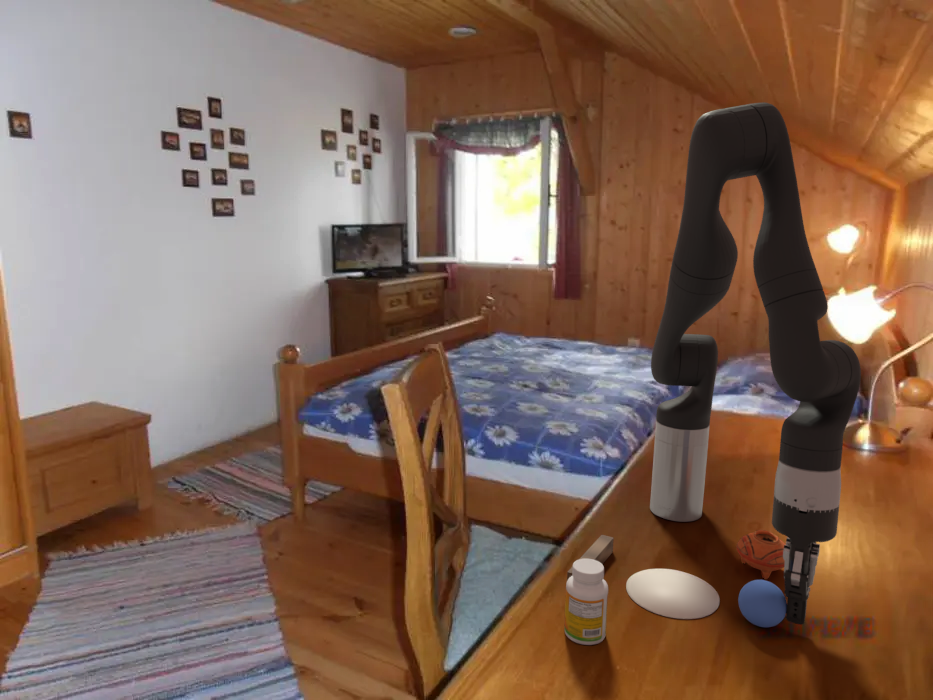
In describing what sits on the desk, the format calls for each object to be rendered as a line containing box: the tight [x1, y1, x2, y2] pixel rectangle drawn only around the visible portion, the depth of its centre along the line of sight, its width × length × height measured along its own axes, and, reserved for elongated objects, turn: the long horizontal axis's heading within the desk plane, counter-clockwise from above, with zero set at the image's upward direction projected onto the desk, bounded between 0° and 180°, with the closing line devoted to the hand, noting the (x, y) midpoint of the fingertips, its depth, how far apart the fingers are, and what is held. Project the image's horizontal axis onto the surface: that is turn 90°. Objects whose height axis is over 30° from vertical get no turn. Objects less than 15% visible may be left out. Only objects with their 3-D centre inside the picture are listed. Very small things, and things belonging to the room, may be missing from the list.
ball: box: [737, 579, 787, 628], centre depth 91 cm, size 6×6×6 cm
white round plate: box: [625, 568, 721, 620], centre depth 99 cm, size 13×13×1 cm
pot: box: [736, 529, 786, 580], centre depth 105 cm, size 8×8×7 cm
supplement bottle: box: [563, 558, 609, 646], centre depth 88 cm, size 5×5×10 cm
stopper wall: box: [566, 534, 615, 581], centre depth 105 cm, size 14×2×2 cm, turn 148°
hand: (795, 620), depth 90 cm, fingers closed
